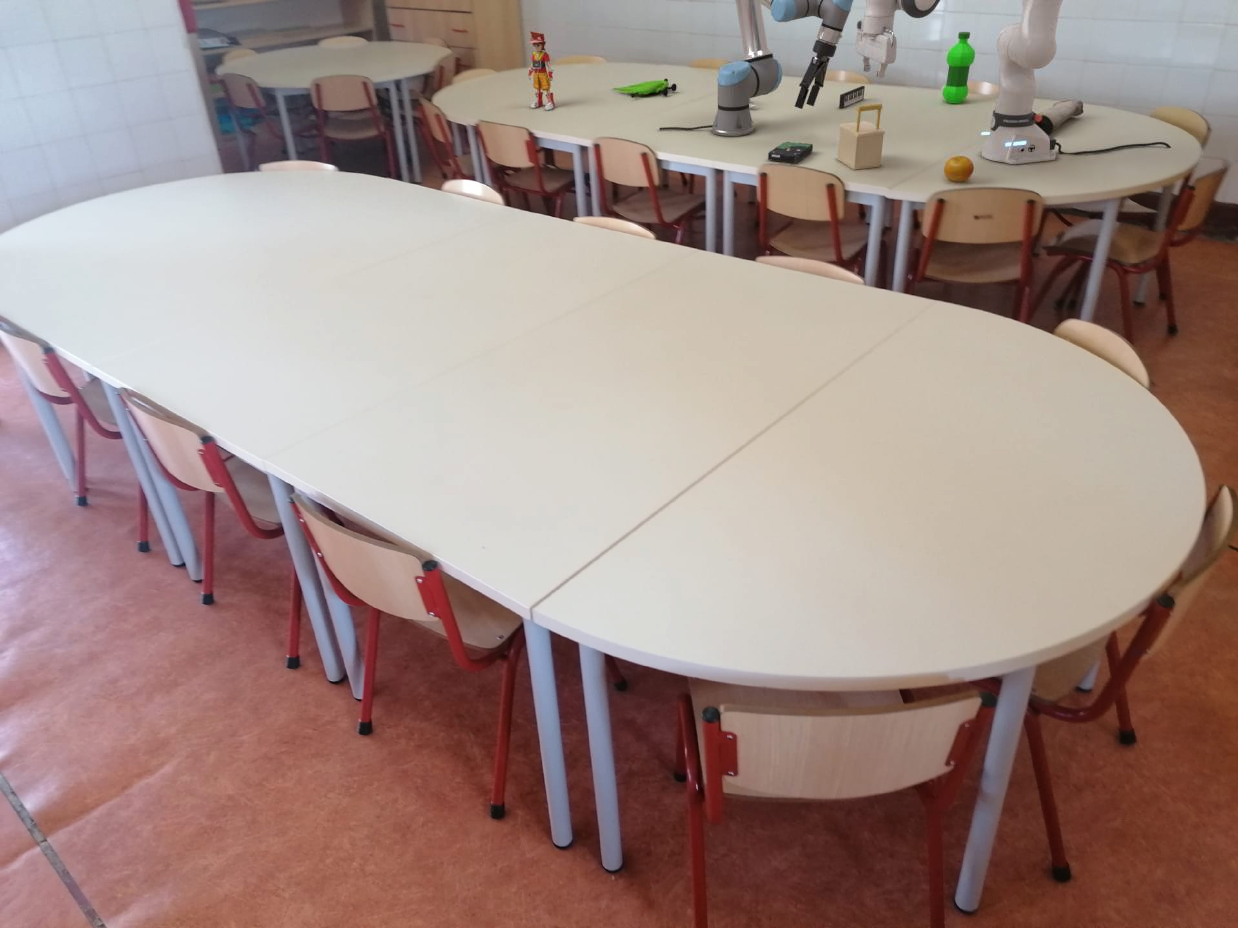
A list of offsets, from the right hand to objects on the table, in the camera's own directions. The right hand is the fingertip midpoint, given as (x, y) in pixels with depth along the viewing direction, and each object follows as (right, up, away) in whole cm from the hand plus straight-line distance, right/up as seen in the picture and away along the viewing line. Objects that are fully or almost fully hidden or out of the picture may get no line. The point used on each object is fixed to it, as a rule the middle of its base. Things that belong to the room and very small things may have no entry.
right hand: (873, 74), depth 278 cm
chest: (+1, -21, +19) cm, 28 cm away
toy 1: (-112, +31, +105) cm, 156 cm away
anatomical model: (-30, +25, +89) cm, 97 cm away
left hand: (-14, +4, +35) cm, 38 cm away
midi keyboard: (+15, +24, +83) cm, 88 cm away
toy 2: (-69, +44, +119) cm, 145 cm away
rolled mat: (+76, 0, +43) cm, 88 cm away
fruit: (+26, -33, -1) cm, 42 cm away
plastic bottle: (+54, +22, +77) cm, 96 cm away
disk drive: (-20, -16, +29) cm, 38 cm away
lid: (0, -13, +13) cm, 18 cm away
